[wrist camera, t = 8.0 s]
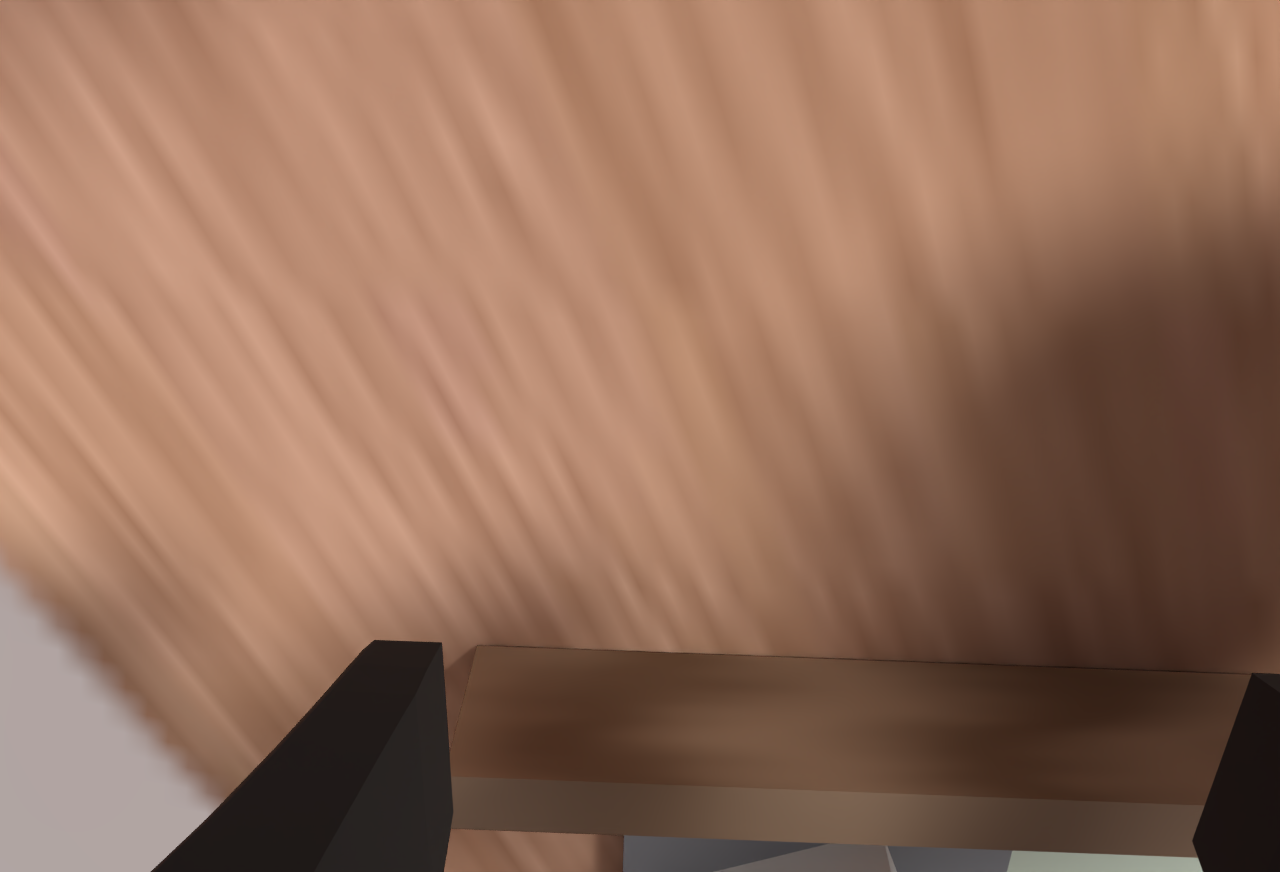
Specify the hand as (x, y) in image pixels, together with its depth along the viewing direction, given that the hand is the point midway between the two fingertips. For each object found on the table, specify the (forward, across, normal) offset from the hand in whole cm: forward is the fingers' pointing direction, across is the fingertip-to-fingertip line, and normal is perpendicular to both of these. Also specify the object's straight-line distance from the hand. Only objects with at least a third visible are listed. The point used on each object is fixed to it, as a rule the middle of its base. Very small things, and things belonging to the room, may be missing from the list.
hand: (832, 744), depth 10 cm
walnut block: (+9, -5, +7) cm, 13 cm away
